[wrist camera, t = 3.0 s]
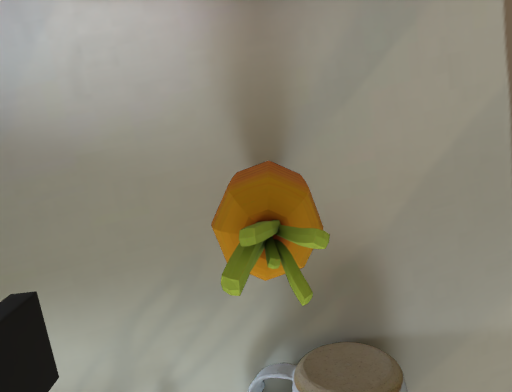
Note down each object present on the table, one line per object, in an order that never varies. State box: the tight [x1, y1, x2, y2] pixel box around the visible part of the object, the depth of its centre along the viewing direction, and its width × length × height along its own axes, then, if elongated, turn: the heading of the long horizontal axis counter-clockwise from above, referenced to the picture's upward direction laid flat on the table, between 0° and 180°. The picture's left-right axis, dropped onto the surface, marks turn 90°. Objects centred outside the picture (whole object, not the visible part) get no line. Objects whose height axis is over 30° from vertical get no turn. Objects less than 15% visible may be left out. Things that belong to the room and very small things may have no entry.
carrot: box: [211, 161, 330, 306], centre depth 22 cm, size 5×5×15 cm
